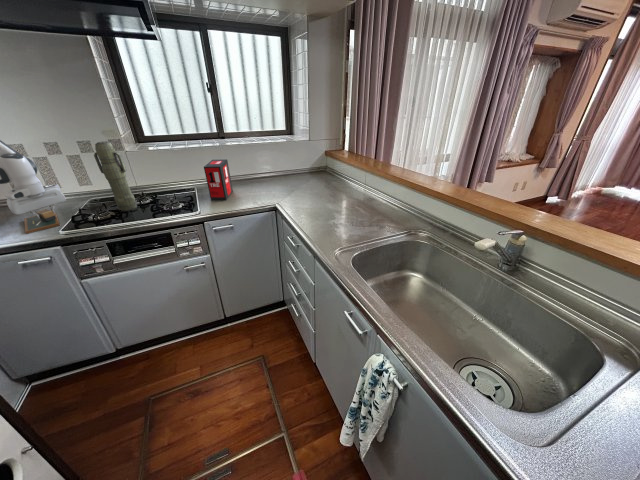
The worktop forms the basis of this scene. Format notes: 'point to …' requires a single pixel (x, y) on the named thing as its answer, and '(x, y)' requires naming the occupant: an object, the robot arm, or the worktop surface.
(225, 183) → the cleaning product box
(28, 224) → the board
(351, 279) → the worktop surface
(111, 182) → the thermos
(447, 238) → the worktop surface
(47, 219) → the eraser
